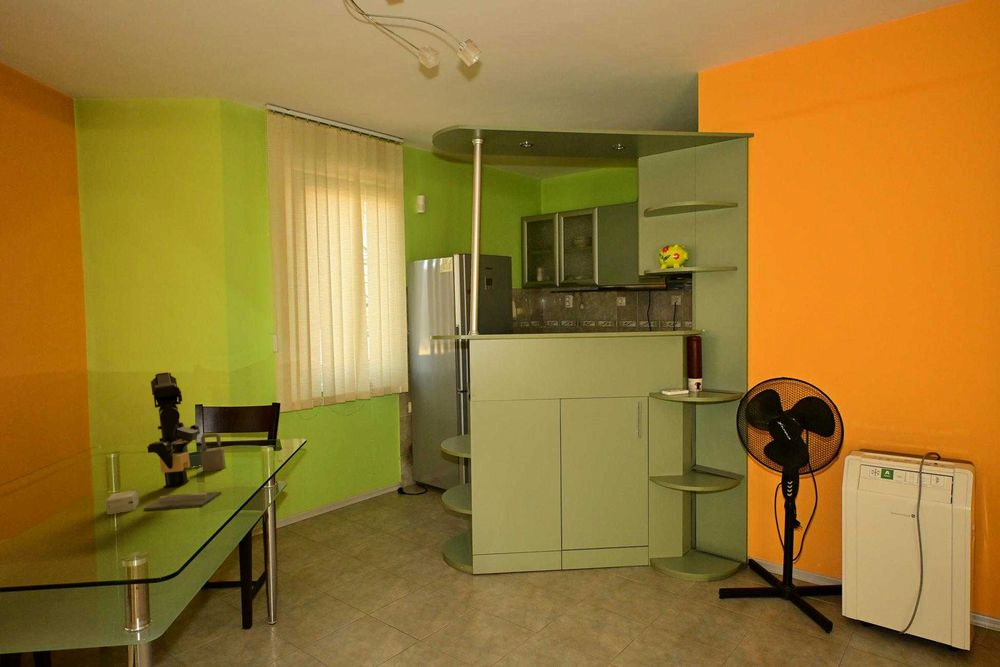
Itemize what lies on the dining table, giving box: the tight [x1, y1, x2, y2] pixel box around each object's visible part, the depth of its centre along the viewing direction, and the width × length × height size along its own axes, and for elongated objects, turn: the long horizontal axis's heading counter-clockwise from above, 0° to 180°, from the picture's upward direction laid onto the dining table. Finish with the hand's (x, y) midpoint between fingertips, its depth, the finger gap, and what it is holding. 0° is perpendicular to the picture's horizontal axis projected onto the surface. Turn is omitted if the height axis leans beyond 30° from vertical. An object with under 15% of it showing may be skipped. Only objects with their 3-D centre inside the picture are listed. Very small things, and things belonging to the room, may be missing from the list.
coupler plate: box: [143, 491, 222, 512], centre depth 195 cm, size 20×12×2 cm, turn 88°
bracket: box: [185, 444, 208, 467], centre depth 246 cm, size 9×9×9 cm
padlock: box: [200, 432, 227, 472], centre depth 235 cm, size 4×8×15 cm, turn 98°
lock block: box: [159, 451, 190, 474], centre depth 197 cm, size 7×5×5 cm
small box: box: [105, 489, 140, 515], centre depth 193 cm, size 8×8×5 cm
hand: (175, 466), depth 198 cm, fingers closed on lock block, 5 cm apart
